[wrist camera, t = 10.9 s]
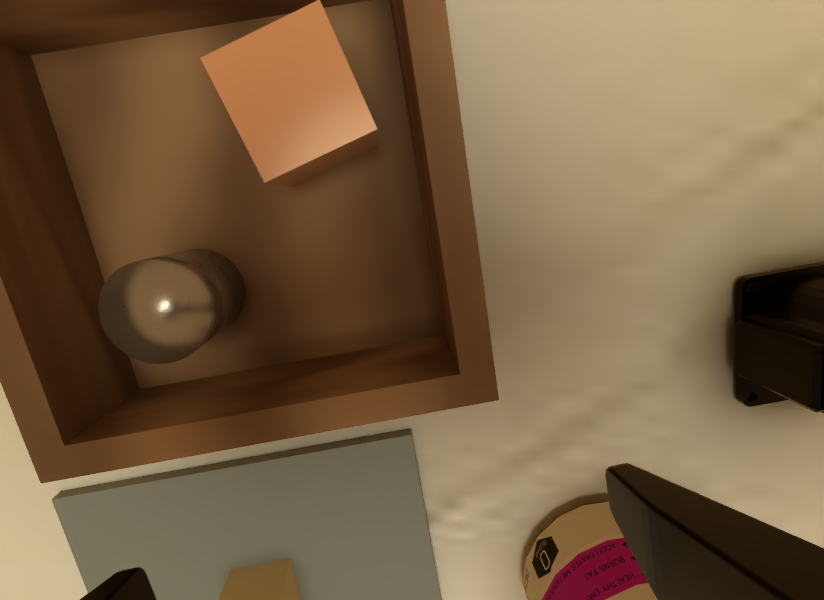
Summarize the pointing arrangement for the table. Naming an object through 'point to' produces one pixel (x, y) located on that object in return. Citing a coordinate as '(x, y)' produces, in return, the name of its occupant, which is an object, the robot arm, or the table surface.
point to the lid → (265, 526)
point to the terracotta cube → (293, 97)
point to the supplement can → (584, 560)
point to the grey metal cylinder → (170, 304)
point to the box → (228, 234)
